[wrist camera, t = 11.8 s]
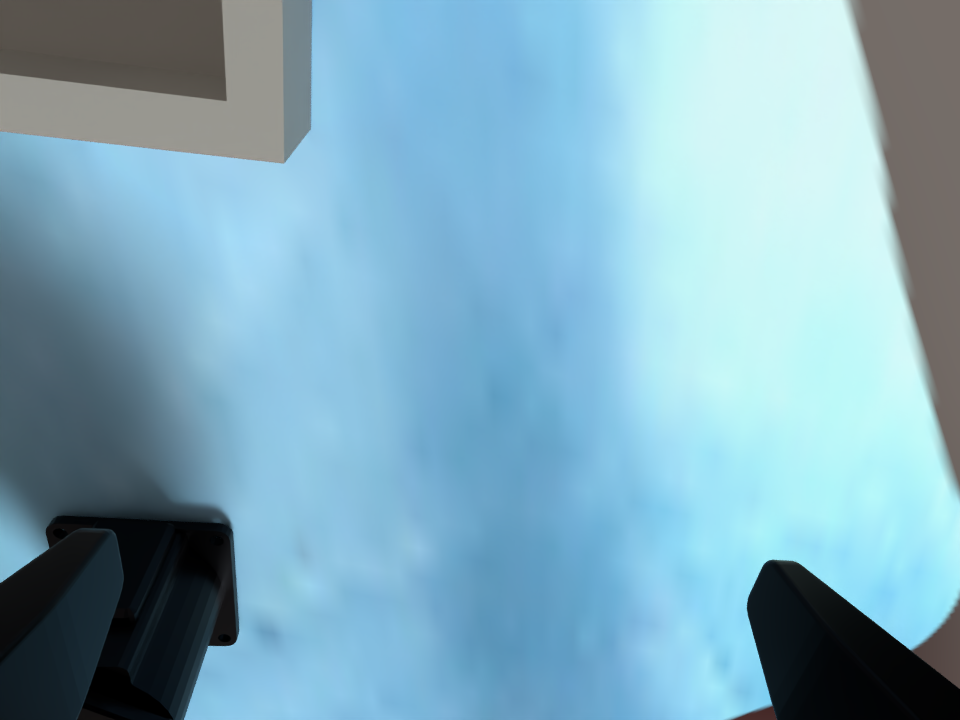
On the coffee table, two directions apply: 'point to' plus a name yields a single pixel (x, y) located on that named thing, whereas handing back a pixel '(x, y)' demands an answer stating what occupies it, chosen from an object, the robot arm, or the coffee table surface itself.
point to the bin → (160, 73)
